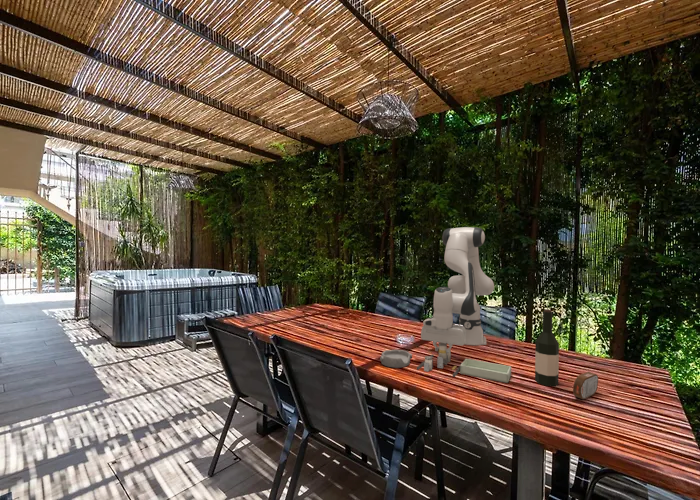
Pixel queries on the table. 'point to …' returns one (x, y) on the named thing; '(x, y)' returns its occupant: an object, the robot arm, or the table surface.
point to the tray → (486, 370)
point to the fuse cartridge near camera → (429, 361)
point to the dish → (395, 358)
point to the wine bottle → (547, 354)
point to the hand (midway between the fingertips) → (442, 351)
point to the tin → (585, 385)
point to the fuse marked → (442, 350)
